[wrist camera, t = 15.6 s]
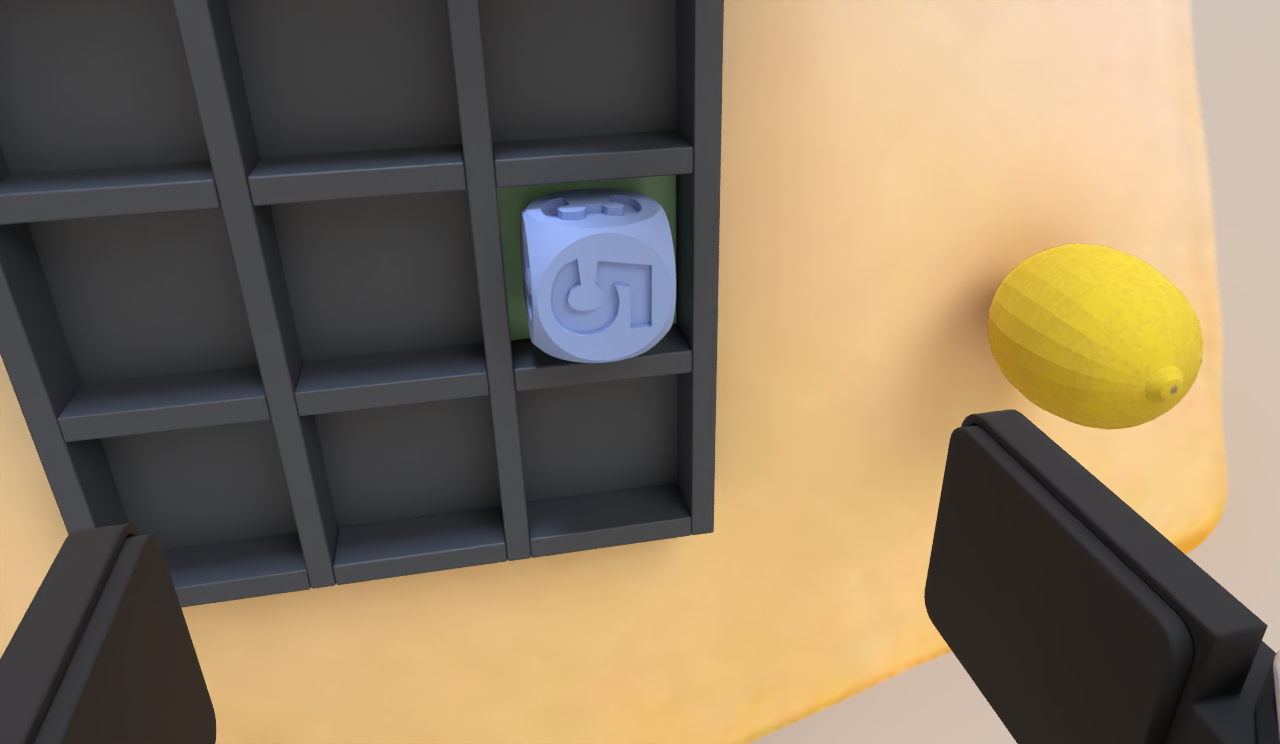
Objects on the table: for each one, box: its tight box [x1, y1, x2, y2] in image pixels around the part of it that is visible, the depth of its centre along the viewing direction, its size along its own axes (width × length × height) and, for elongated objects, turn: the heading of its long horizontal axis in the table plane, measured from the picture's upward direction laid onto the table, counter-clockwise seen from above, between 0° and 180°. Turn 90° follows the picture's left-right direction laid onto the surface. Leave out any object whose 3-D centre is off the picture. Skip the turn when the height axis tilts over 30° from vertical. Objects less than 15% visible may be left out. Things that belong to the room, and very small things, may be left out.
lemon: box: [988, 244, 1203, 429], centre depth 30 cm, size 6×6×8 cm
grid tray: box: [0, 0, 724, 607], centre depth 27 cm, size 20×20×3 cm
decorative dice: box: [520, 189, 676, 363], centre depth 27 cm, size 4×4×4 cm
